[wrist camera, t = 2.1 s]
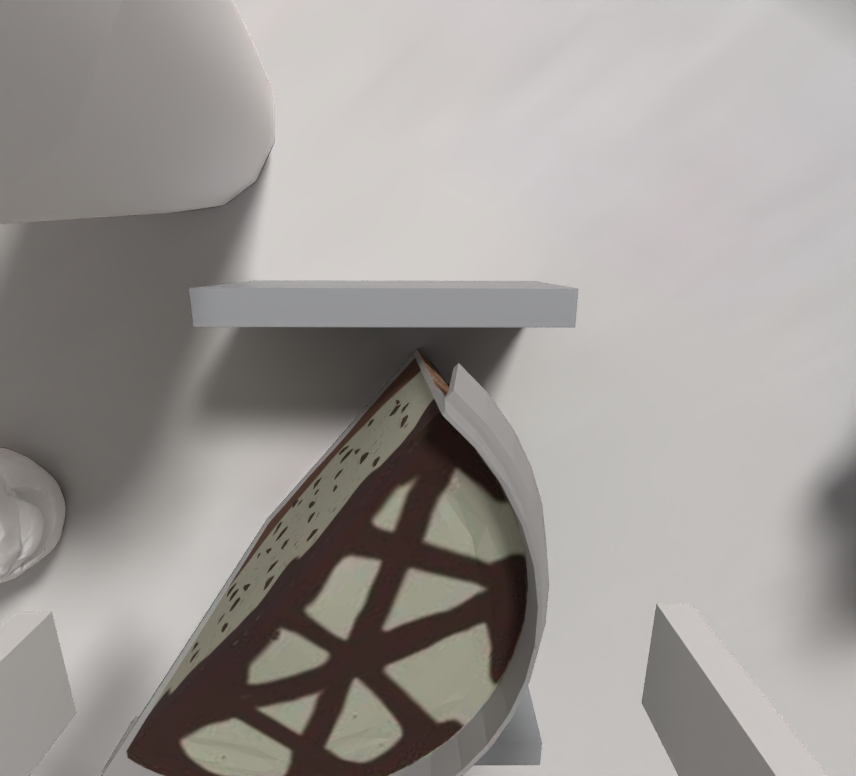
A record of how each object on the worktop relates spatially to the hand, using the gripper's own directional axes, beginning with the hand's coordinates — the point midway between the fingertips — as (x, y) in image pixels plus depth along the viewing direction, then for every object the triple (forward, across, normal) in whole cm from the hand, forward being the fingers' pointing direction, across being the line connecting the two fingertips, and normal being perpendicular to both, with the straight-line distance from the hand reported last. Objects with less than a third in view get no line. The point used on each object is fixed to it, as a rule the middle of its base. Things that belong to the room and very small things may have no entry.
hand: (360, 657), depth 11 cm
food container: (+9, 0, 0) cm, 9 cm away
